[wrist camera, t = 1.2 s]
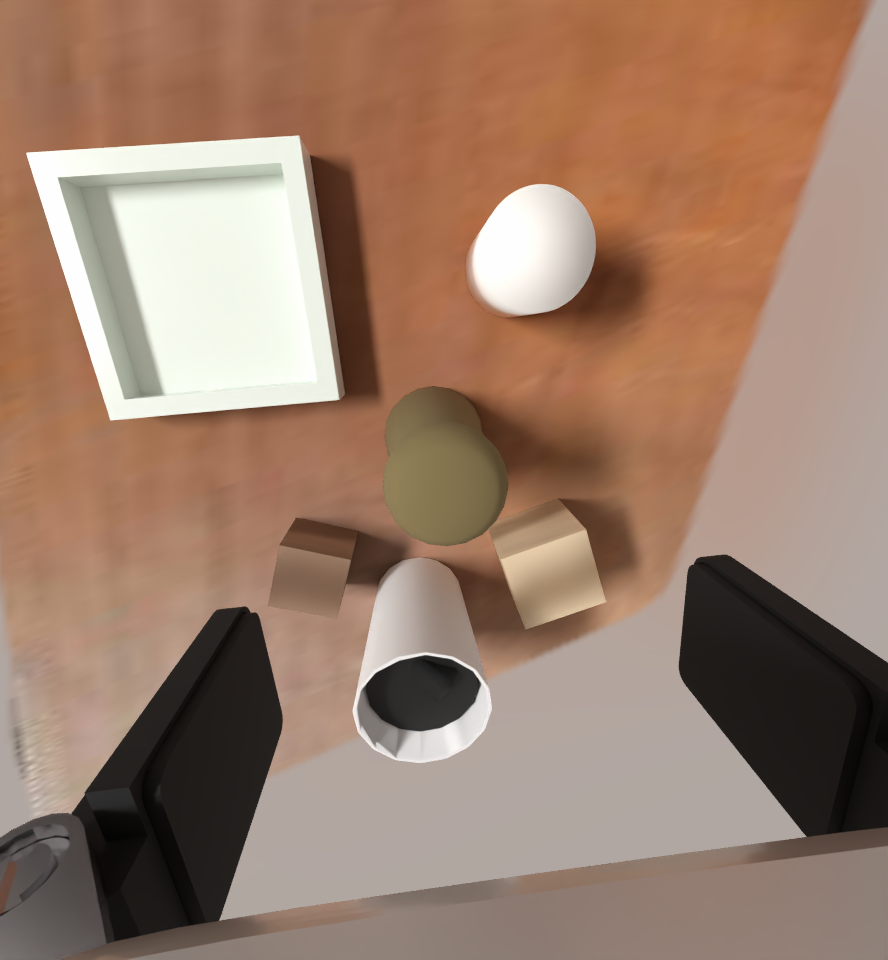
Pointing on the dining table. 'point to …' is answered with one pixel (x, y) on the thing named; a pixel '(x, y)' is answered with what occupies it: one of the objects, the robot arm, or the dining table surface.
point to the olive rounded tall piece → (441, 468)
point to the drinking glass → (421, 667)
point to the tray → (195, 273)
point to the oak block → (547, 563)
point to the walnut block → (312, 568)
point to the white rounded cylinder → (531, 253)
